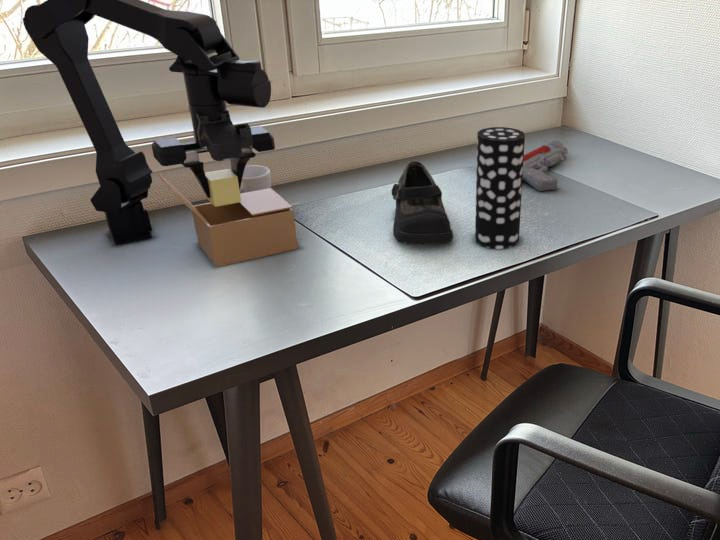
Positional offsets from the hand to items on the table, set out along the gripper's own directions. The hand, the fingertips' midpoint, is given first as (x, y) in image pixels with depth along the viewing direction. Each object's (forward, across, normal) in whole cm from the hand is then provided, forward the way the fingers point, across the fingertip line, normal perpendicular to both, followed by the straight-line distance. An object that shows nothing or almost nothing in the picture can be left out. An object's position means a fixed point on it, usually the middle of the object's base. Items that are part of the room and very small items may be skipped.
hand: (223, 194), depth 127 cm
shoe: (+10, +34, -9) cm, 37 cm away
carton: (+10, +3, 0) cm, 11 cm away
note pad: (+1, 0, 0) cm, 1 cm away
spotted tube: (+10, +44, -21) cm, 50 cm away
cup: (+11, +9, +16) cm, 21 cm away
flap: (-1, -7, 0) cm, 7 cm away
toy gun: (+10, +76, +5) cm, 77 cm away
